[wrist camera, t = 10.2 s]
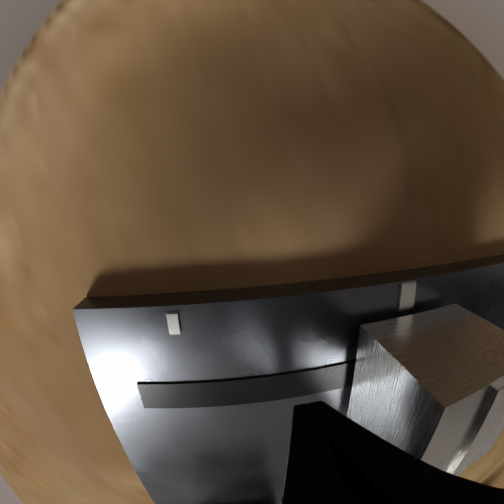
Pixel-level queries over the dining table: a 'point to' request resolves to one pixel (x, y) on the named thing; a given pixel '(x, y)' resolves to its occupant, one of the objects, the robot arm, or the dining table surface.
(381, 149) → the dining table surface
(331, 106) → the dining table surface
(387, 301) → the plate
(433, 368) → the fader
